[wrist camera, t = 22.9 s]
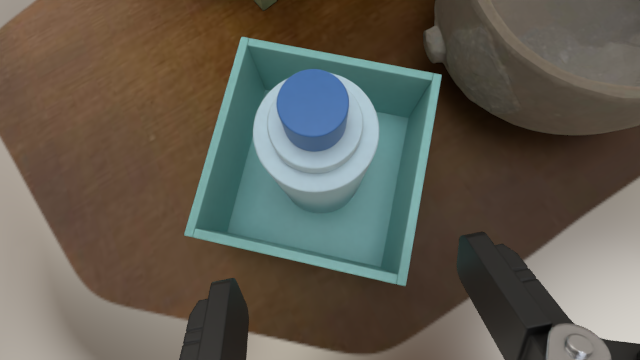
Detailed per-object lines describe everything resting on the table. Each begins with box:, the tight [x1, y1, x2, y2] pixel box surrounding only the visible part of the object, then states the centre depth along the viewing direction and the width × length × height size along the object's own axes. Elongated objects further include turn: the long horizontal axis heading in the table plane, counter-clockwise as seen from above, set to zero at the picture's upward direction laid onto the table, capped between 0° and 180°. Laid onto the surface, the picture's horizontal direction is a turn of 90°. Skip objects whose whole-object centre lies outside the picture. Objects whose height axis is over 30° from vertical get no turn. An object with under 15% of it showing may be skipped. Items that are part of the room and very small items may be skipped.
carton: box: [184, 37, 442, 286], centre depth 22 cm, size 12×12×6 cm
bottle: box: [253, 69, 379, 213], centre depth 19 cm, size 6×6×13 cm
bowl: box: [423, 0, 640, 135], centre depth 22 cm, size 17×18×10 cm
